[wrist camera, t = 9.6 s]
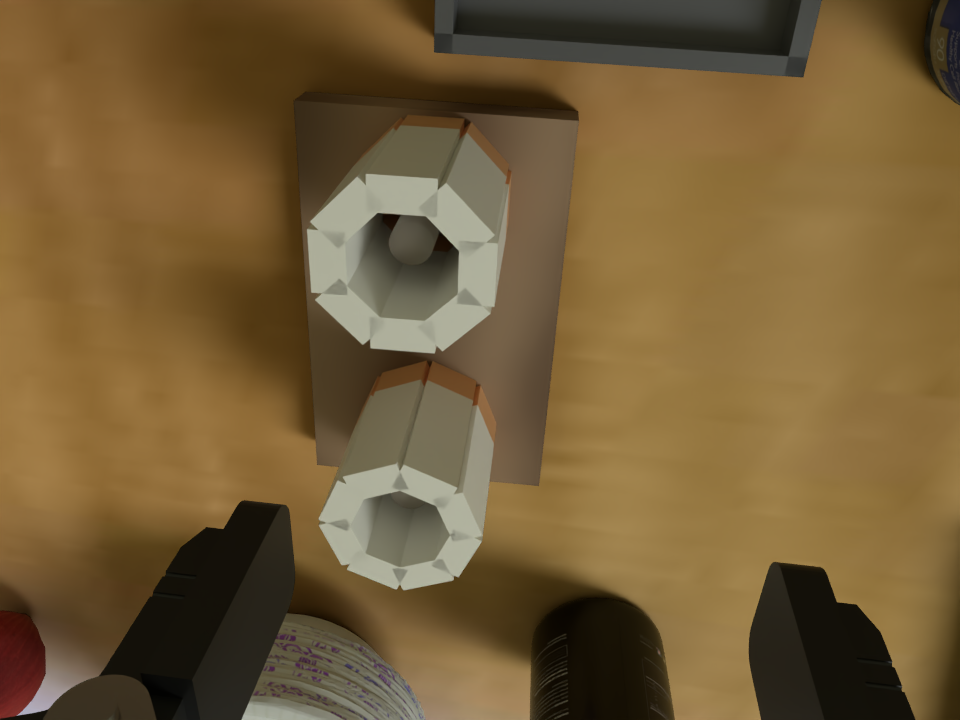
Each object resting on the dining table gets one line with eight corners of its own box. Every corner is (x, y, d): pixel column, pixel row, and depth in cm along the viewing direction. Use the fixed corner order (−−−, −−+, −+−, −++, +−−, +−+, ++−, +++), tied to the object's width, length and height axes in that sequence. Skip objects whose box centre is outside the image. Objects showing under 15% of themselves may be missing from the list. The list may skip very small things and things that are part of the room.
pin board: (578, 111, 29) (582, 161, 23) (539, 465, 37) (535, 566, 31) (305, 91, 30) (245, 136, 24) (325, 445, 38) (283, 541, 32)
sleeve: (514, 121, 28) (501, 182, 22) (505, 267, 31) (491, 358, 25) (358, 111, 28) (302, 169, 22) (362, 257, 31) (314, 343, 25)
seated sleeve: (466, 349, 33) (444, 452, 27) (509, 455, 35) (498, 571, 29) (344, 382, 34) (297, 487, 28) (394, 482, 36) (360, 598, 30)
